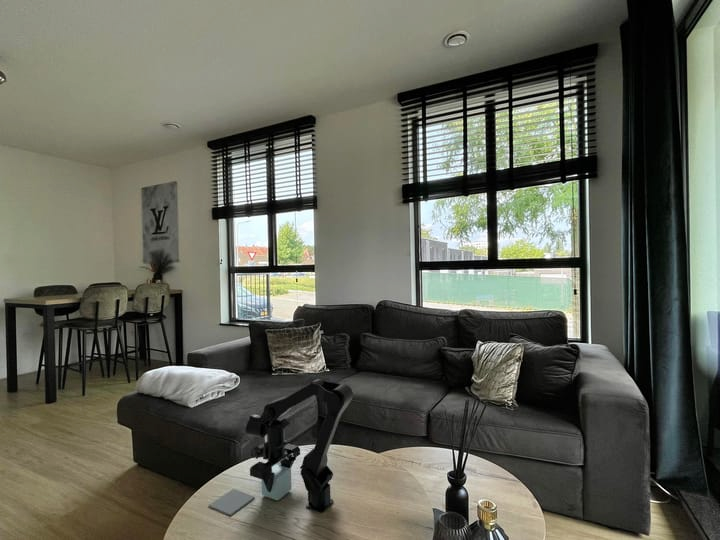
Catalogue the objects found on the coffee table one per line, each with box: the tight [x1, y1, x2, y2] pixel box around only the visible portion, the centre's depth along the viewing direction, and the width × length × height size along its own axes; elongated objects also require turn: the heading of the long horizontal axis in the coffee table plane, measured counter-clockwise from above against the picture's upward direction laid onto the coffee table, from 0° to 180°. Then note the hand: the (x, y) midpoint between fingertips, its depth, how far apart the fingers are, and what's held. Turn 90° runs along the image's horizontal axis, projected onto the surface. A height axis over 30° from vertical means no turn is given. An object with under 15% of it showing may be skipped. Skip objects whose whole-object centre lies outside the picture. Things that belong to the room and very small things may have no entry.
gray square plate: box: [208, 488, 256, 517], centre depth 118 cm, size 10×10×1 cm
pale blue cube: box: [261, 464, 292, 501], centre depth 122 cm, size 7×7×7 cm
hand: (276, 486), depth 122 cm, fingers closed on pale blue cube, 7 cm apart
